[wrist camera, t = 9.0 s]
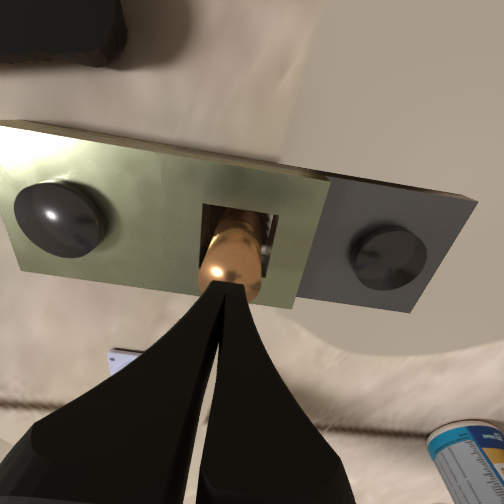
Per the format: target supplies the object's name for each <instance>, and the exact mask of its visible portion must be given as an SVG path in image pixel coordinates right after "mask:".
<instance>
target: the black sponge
mask: <svg viewBox="0 0 504 504" xmlns="http://www.w3.org/2000/svg"><path fill="white" fill-rule="evenodd" d="M126 40H127V28H126V24H125V20H124V16H123V12H122V7H121V2H120V0H0V63H30V62H39V61H50V60H53V59H56V60H67V61H71V62H75V63H78V64H82V65H86V66H91V67H96V68H98V67H104V66H106V65H109V64H111V63H112V62H113V61H114V60H115V59H116V58H117V57H118V56H119V55H120V53H121V52H122V51H123V49H124V47H125V44H126Z"/></svg>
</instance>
